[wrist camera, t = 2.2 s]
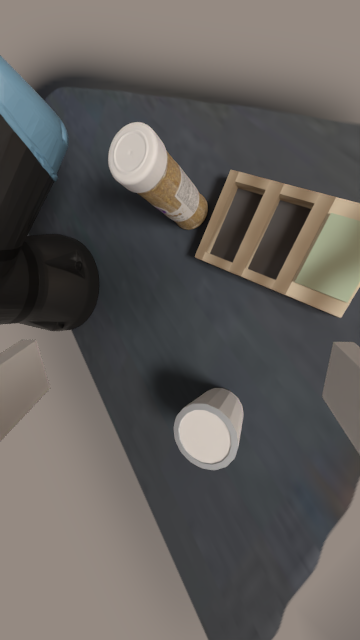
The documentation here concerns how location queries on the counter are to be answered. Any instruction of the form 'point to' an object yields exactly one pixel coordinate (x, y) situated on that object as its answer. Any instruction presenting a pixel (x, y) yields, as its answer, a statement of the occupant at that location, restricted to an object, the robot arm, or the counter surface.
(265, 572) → the counter surface
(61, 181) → the counter surface
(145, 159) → the sprinkles bottle
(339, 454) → the counter surface
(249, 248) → the slotted wooden board
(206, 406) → the grey cup
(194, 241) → the counter surface
